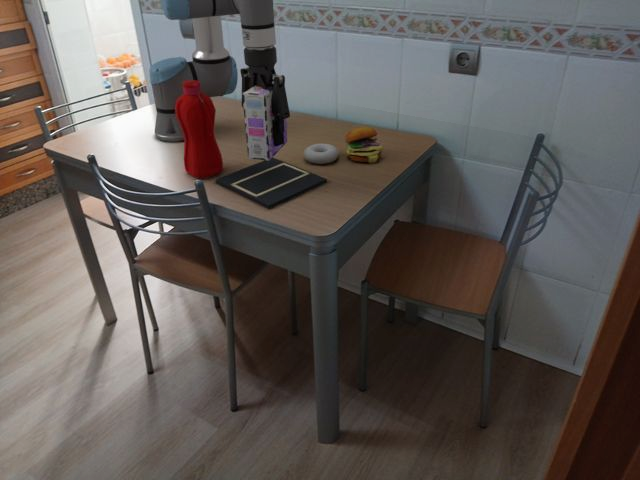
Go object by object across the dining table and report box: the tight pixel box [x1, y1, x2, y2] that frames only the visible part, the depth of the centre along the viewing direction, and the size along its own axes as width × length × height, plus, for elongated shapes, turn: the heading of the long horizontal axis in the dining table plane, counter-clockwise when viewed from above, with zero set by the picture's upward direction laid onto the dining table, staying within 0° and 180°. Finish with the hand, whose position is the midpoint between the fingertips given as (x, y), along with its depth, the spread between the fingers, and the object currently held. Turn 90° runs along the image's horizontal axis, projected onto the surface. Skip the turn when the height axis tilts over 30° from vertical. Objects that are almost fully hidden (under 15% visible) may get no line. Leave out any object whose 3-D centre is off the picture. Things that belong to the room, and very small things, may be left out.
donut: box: [303, 143, 340, 165], centre depth 150 cm, size 10×4×10 cm
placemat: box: [215, 156, 328, 210], centre depth 138 cm, size 22×20×1 cm
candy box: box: [243, 86, 288, 161], centre depth 129 cm, size 14×6×16 cm, turn 164°
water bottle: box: [175, 80, 224, 180], centre depth 138 cm, size 9×11×25 cm
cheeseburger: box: [344, 126, 383, 164], centre depth 149 cm, size 10×11×10 cm
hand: (267, 140), depth 132 cm, fingers closed on candy box, 8 cm apart
